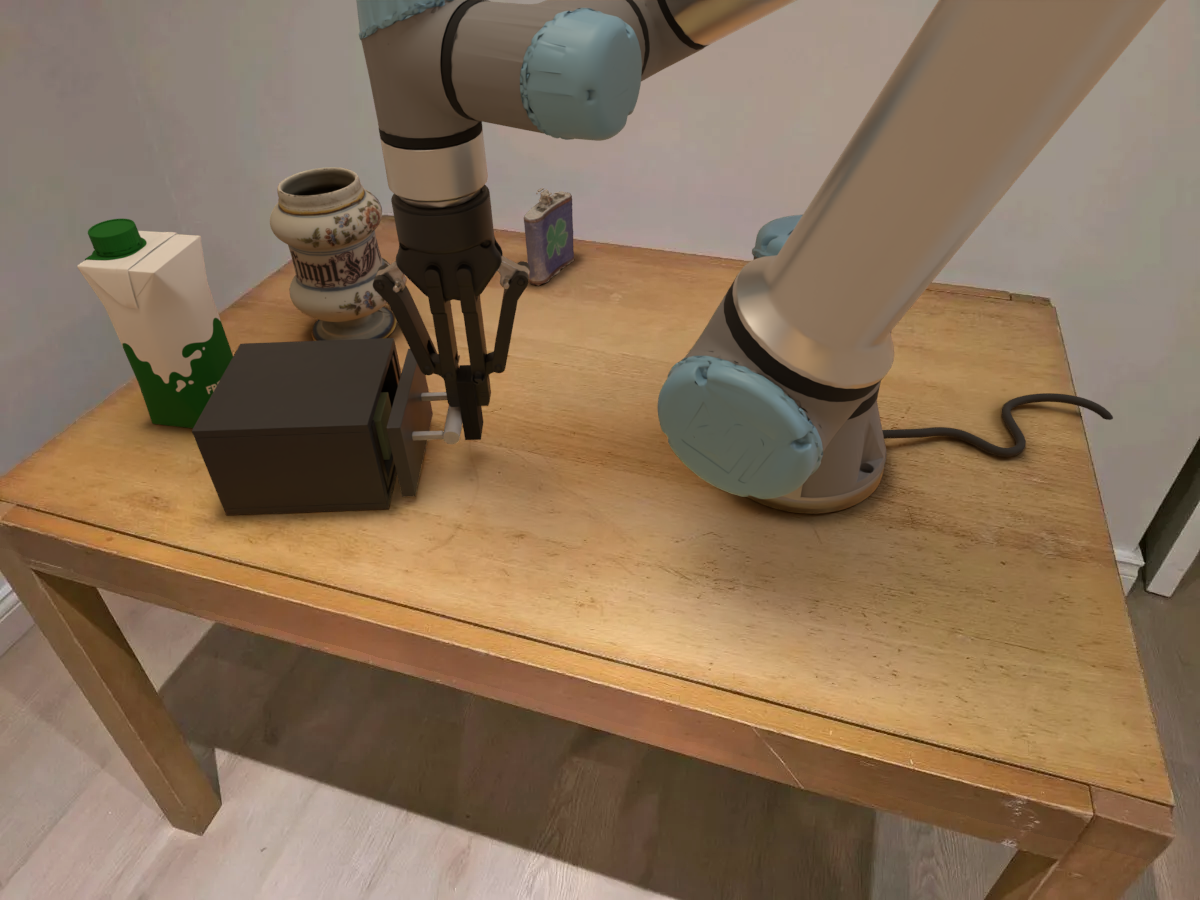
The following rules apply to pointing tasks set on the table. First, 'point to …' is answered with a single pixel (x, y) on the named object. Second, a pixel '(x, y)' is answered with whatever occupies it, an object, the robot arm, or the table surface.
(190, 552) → the table surface
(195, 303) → the milk carton
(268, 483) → the cabinet
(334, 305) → the apothecary jar
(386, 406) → the block
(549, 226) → the flask
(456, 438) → the drawer
